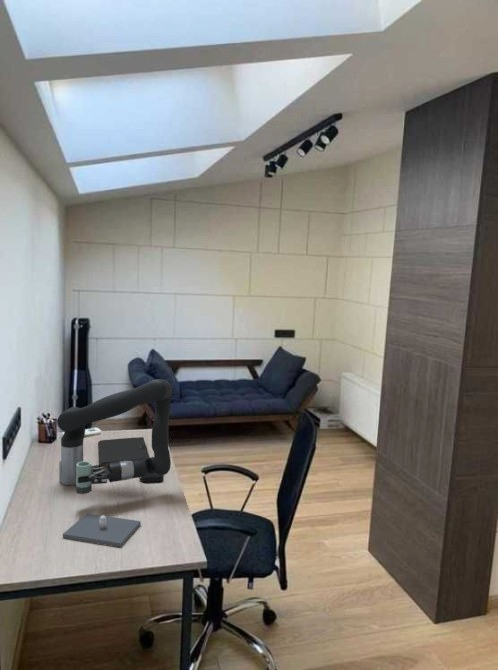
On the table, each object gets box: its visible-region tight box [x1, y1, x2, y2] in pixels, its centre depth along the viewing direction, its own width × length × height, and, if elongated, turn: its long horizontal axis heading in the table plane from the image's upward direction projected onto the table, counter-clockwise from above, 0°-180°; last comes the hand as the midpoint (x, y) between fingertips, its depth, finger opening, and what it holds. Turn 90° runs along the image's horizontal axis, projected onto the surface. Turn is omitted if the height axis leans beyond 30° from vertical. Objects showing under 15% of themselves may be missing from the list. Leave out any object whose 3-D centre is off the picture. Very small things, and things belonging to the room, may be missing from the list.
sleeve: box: [75, 460, 93, 495], centre depth 196 cm, size 6×6×11 cm
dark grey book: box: [97, 436, 151, 467], centre depth 257 cm, size 33×4×24 cm
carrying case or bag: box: [138, 473, 164, 484], centre depth 231 cm, size 11×3×15 cm
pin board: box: [62, 512, 141, 548], centre depth 181 cm, size 22×16×6 cm
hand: (77, 477), depth 194 cm, fingers closed on sleeve, 5 cm apart
